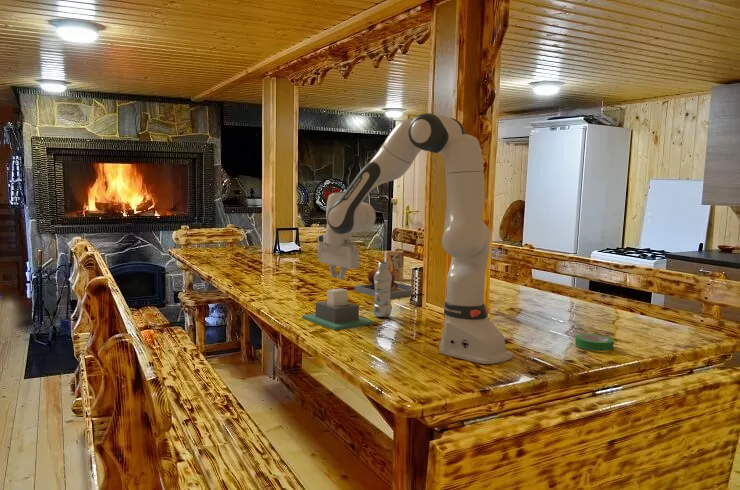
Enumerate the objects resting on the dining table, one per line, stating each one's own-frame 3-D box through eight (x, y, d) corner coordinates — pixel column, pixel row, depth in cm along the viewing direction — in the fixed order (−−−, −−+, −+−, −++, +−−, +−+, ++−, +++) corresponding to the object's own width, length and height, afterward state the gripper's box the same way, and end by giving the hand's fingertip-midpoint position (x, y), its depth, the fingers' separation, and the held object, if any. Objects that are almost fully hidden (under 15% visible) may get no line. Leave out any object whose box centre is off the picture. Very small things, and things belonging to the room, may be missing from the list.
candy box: (400, 281, 289) (401, 250, 287) (403, 282, 285) (404, 251, 283) (383, 281, 287) (384, 250, 285) (385, 283, 283) (386, 251, 281)
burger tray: (422, 295, 254) (423, 288, 254) (384, 300, 240) (384, 293, 240) (392, 287, 270) (392, 281, 269) (354, 292, 256) (354, 285, 256)
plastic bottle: (389, 319, 207) (391, 264, 205) (371, 318, 208) (372, 263, 206) (392, 315, 213) (394, 261, 211) (374, 314, 215) (376, 260, 213)
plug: (347, 315, 203) (347, 290, 202) (333, 317, 200) (333, 291, 199) (340, 313, 207) (341, 288, 206) (326, 315, 203) (327, 289, 202)
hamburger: (385, 296, 250) (386, 273, 249) (361, 292, 257) (361, 270, 256) (404, 291, 263) (404, 269, 262) (380, 287, 270) (381, 266, 269)
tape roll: (575, 339, 188) (576, 331, 188) (612, 344, 184) (613, 335, 184) (574, 348, 178) (575, 340, 177) (613, 353, 174) (614, 344, 173)
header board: (372, 323, 201) (372, 306, 200) (334, 330, 191) (335, 312, 190) (338, 312, 216) (338, 296, 215) (302, 318, 206) (302, 301, 205)
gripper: (364, 241, 194) (363, 282, 196) (329, 235, 210) (328, 273, 212) (349, 242, 190) (348, 283, 192) (314, 236, 206) (314, 274, 208)
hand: (337, 278), depth 202 cm, fingers open, 3 cm apart
